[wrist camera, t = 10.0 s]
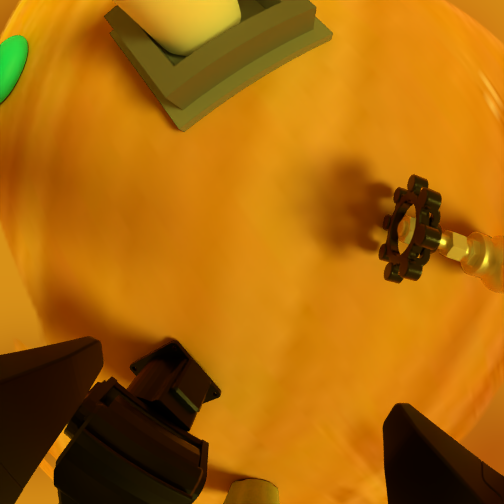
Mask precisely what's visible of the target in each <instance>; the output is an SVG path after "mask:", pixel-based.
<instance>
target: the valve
mask: <svg viewBox="0 0 504 504" xmlns="http://www.w3.org/2000/svg"><path fill="white" fill-rule="evenodd" d="M407 188H408V190H406V189H404V188H401V187H398V188H397V189H396V190H395V193H394V197H393V200H394V203H396V206H395V210H394V212H393V214H392V215H389V214H387V215H386V216H385V218H384V221H383V229H384V230H386V231H388V235H387V241H386V243H385V244H382V245H381V247H380V250H379V259H380V260H383V261H386V262H389V263H388V264H387V265H386V267H385V270H384V278H385V280H387V281H391V282H395V283H400V282H401V281H402V280H403V278H405V279H409V280H413V281H417V280H418V279H419V278H420V276H421V274H422V269H423V266H424V265H425V264H426V263H427V262H428V261H429V258H430V254H432V253H434V252H435V251H436V250H437V248H439V254H441V255H443V256H445V257H448V258H451V259H454V260H457V261H459V262H461V267H462V269H463V271H464V272H465V273H466V274H469V275H472V276H475V277H479V278H481V280H482V282H483V283H484V285H485V286H486V287H487V288H489V289H490V290H492V291H494V292H496V293H504V236H496V237H493V238H492V237H490V236H488V235H484V234H482V233H480V232H473V233H471V234H470V235H469V236H468V237H466V236H463V235H461V234H458V233H456V232H453V231H450V230H447V229H446V230H445V231H444V233H442V230H441V226H440V225H439V222H440V212H439V208H440V205H441V201H442V198H441V194H440V193H438V192H436V191H434V190H431V189H429V188H428V181H427V179H425V178H422V177H420V176H417V175H414V174H413V175H411V176H410V178H409V180H408V184H407ZM421 188H423V189H422V190H421ZM413 204H414V206H415V210H416V218H413V217H410V216H406V215H405V213H406V211H407V210H408V209H409V207H410V206H412V205H413ZM429 212H430V213H431V216H430V218H429ZM404 215H405V216H404ZM398 239H399V241H401V242H404V243H407V244H409V245H408V247H407V249H406V250H405V251H404V252H403V253H402V254H401V255H400V253H399V249H398ZM419 254H420V257H419V258H417V257H418V255H419Z"/></svg>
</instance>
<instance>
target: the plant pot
mask: <svg viewBox="0 0 504 504" xmlns="http://www.w3.org/2000/svg"><path fill="white" fill-rule="evenodd" d="M223 504H279V493H278V488H277V487H275V486H274V485H273V484H272V483H270V482H268V481H264V480H259V479H246V480H243V481H235V482H233V483H232V485H231V487H230V489H229V492H228V494H227V496H226V499H225V501H224V503H223Z"/></svg>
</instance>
